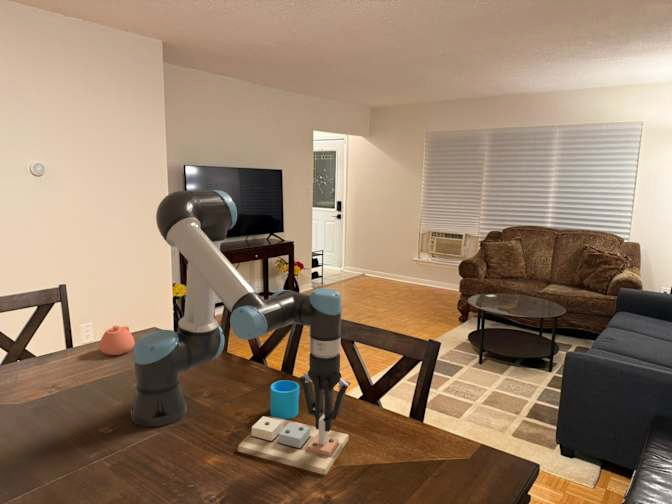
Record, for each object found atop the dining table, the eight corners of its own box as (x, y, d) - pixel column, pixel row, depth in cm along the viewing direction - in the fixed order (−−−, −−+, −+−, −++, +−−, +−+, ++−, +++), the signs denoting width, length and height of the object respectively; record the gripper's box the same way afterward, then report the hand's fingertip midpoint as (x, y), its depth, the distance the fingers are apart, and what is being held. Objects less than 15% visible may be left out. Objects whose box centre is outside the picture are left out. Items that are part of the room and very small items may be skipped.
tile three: (307, 455, 118) (307, 445, 117) (316, 442, 123) (317, 433, 123) (329, 461, 115) (329, 451, 115) (338, 448, 121) (338, 438, 120)
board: (237, 451, 119) (237, 445, 119) (269, 420, 134) (269, 415, 133) (325, 475, 110) (325, 469, 110) (348, 439, 125) (348, 434, 125)
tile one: (251, 435, 123) (251, 426, 122) (263, 424, 128) (263, 415, 128) (271, 441, 121) (271, 431, 120) (282, 429, 126) (282, 420, 126)
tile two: (278, 442, 120) (278, 433, 120) (289, 431, 126) (289, 421, 125) (300, 448, 118) (300, 438, 117) (309, 436, 123) (310, 426, 123)
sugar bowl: (92, 356, 176) (90, 330, 174) (115, 343, 189) (114, 318, 187) (122, 359, 174) (120, 332, 172) (143, 345, 187) (142, 321, 186)
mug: (288, 422, 133) (288, 395, 132) (264, 414, 137) (264, 388, 136) (310, 404, 144) (310, 379, 142) (288, 397, 147) (288, 373, 146)
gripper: (294, 353, 113) (293, 443, 118) (344, 362, 109) (342, 455, 113) (307, 343, 120) (306, 428, 124) (355, 351, 116) (352, 439, 120)
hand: (323, 441), depth 119 cm, fingers closed
